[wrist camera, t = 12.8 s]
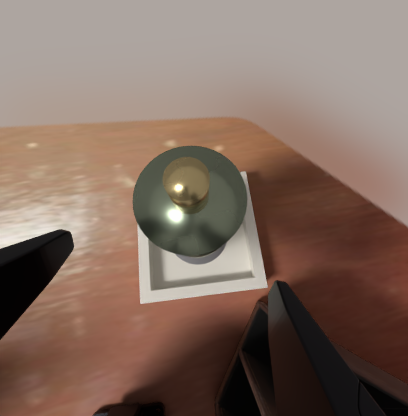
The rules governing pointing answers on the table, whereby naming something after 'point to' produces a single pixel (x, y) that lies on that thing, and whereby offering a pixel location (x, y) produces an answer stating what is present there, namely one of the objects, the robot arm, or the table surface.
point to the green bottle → (190, 201)
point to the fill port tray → (203, 266)
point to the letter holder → (263, 378)
